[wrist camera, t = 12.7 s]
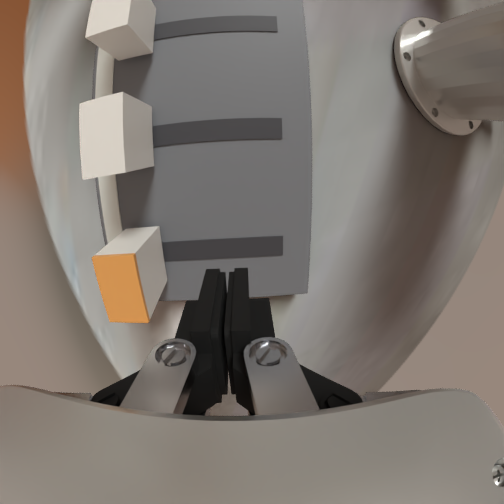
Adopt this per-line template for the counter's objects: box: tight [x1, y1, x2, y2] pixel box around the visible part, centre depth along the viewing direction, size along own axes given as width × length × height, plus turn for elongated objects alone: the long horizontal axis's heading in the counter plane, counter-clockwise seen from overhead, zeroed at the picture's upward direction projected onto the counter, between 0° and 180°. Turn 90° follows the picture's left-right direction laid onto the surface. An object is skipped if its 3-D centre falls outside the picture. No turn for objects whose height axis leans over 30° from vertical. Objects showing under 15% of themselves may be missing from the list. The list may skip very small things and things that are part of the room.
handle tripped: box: [92, 226, 167, 323], centre depth 15 cm, size 2×4×5 cm, turn 2°
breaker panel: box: [92, 0, 312, 301], centre depth 17 cm, size 15×24×3 cm, turn 2°
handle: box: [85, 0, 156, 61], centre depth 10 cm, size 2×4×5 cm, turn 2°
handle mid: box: [79, 92, 154, 180], centre depth 13 cm, size 2×4×5 cm, turn 2°
